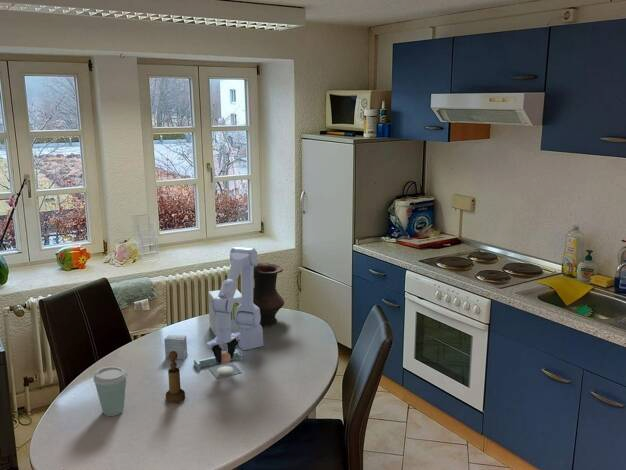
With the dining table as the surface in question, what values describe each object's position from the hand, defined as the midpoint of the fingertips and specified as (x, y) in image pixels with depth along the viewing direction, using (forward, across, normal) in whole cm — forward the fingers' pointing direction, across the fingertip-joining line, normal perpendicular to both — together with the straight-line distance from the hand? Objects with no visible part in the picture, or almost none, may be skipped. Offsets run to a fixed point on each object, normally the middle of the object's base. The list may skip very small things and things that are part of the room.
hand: (224, 360), depth 224 cm
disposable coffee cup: (+5, +45, -1) cm, 45 cm away
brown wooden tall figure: (+5, +25, +6) cm, 26 cm away
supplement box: (+4, -24, -32) cm, 40 cm away
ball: (+2, 0, 0) cm, 2 cm away
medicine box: (+5, +7, -24) cm, 25 cm away
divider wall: (+4, -2, -8) cm, 9 cm away
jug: (+4, -42, -27) cm, 50 cm away
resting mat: (+4, 0, 0) cm, 4 cm away
